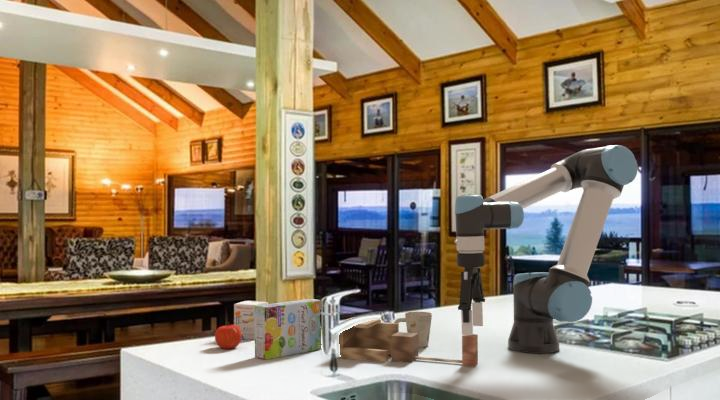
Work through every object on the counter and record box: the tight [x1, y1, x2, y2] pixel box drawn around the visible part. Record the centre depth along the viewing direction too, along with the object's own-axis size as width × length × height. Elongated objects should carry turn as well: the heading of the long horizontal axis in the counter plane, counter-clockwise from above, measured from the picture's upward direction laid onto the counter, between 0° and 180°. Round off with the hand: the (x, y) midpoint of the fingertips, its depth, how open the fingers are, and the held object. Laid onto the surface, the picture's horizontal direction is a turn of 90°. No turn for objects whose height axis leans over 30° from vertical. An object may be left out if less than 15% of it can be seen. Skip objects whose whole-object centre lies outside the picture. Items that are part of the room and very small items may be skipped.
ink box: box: [233, 300, 269, 341], centre depth 215 cm, size 9×8×12 cm
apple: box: [214, 321, 242, 350], centre depth 197 cm, size 8×8×8 cm
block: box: [390, 331, 479, 368], centre depth 178 cm, size 23×6×8 cm, turn 68°
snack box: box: [254, 298, 323, 360], centre depth 190 cm, size 21×6×15 cm, turn 134°
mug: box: [393, 311, 433, 348], centre depth 202 cm, size 8×13×10 cm, turn 78°
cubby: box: [339, 316, 400, 363], centre depth 186 cm, size 14×11×10 cm
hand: (472, 330), depth 175 cm, fingers open, 13 cm apart
